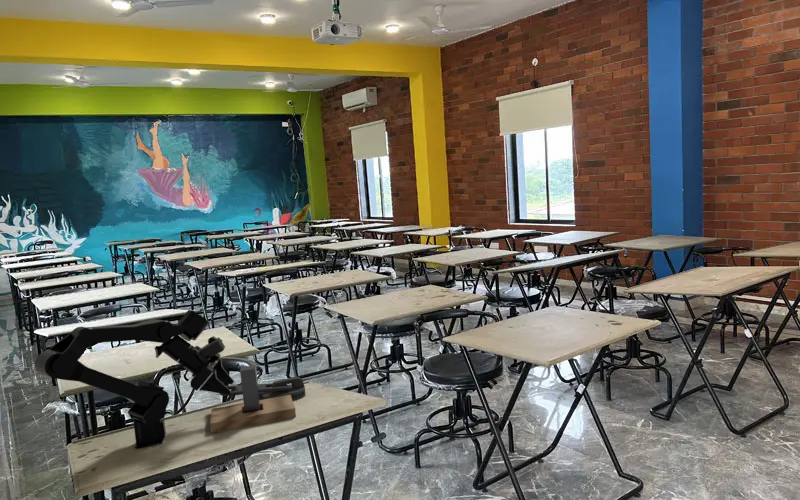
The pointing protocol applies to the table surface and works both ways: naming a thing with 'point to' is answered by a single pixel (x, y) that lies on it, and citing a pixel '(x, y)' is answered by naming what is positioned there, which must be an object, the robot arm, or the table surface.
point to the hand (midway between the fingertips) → (231, 387)
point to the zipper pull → (275, 389)
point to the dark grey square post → (250, 389)
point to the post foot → (251, 414)
